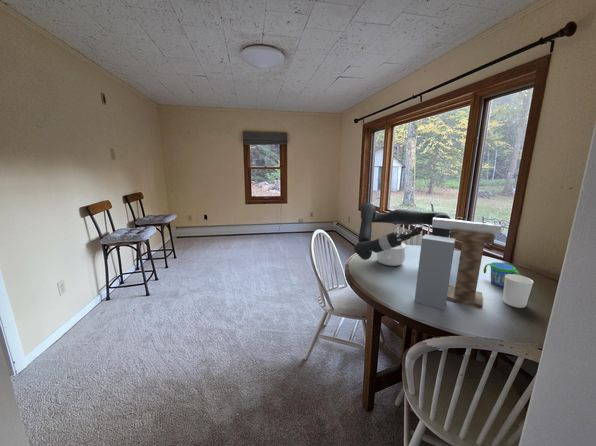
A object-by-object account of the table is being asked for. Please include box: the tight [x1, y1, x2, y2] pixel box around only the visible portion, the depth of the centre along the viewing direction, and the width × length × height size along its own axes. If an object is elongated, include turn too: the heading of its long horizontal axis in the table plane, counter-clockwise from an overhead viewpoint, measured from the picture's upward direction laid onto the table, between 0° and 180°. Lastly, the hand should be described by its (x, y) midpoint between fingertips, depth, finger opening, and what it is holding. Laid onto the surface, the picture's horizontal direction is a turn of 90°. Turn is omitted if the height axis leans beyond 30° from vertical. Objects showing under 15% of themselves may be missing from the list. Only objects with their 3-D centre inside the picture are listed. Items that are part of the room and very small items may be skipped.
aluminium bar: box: [431, 218, 503, 236], centre depth 119 cm, size 26×4×4 cm, turn 56°
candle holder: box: [502, 273, 534, 309], centre depth 118 cm, size 10×10×12 cm
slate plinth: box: [414, 234, 456, 311], centre depth 116 cm, size 12×8×30 cm, turn 56°
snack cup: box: [483, 261, 521, 287], centre depth 138 cm, size 16×10×10 cm
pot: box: [376, 242, 407, 267], centre depth 165 cm, size 22×17×12 cm
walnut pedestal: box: [446, 230, 496, 309], centre depth 121 cm, size 16×14×32 cm
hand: (420, 230), depth 130 cm, fingers open, 8 cm apart
